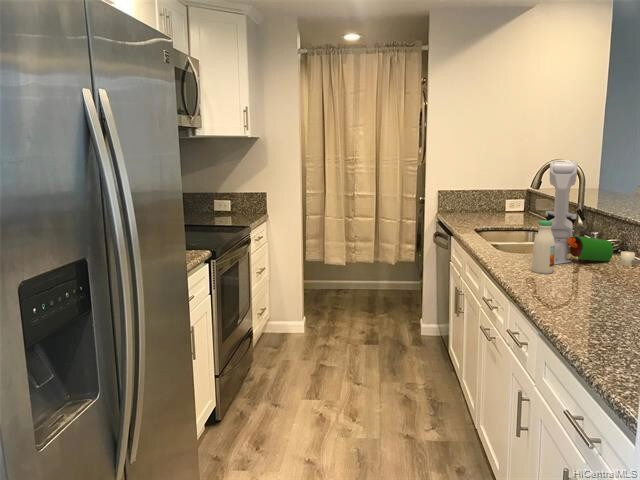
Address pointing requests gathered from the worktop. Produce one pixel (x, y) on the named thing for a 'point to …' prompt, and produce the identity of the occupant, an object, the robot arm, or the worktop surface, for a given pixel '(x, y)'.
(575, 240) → the green vase with flowers
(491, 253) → the worktop surface
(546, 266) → the milk bottle
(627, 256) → the cream capsule with tab
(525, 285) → the worktop surface
